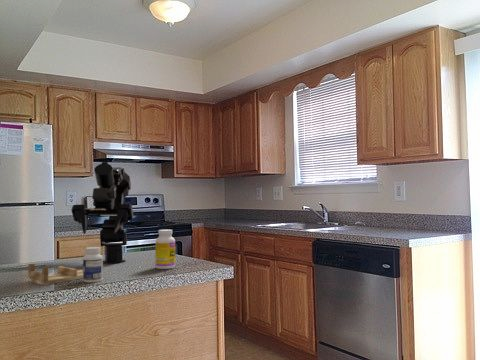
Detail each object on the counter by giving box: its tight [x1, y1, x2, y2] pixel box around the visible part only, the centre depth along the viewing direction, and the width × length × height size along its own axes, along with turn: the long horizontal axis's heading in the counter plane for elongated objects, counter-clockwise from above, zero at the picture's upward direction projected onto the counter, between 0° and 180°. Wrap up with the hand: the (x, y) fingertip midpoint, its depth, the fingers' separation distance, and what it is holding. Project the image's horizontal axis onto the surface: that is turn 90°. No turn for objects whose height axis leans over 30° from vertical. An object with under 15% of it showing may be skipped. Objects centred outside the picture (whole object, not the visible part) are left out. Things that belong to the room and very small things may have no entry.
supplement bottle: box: [155, 229, 176, 270], centre depth 145 cm, size 7×7×13 cm
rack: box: [28, 262, 104, 286], centre depth 130 cm, size 9×19×5 cm, turn 142°
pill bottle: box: [82, 246, 104, 283], centre depth 125 cm, size 5×5×10 cm
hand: (99, 232), depth 133 cm, fingers open, 9 cm apart
